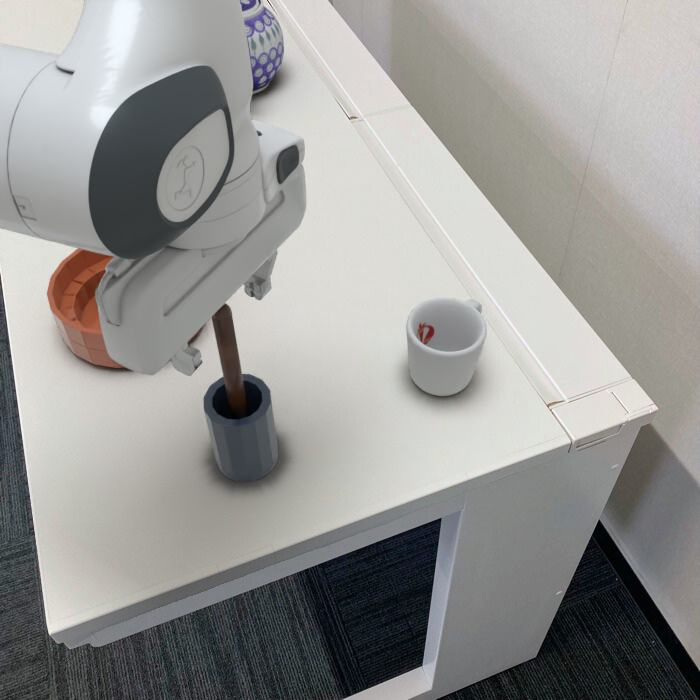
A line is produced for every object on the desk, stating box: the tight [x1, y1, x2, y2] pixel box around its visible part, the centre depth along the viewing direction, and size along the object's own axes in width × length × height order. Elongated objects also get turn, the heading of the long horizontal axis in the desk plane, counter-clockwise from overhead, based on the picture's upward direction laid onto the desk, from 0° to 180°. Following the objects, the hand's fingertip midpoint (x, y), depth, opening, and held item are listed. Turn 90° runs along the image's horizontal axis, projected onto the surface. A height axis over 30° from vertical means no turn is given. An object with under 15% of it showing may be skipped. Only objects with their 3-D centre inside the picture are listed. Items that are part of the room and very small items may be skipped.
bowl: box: [46, 248, 200, 369], centre depth 86 cm, size 16×16×6 cm
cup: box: [405, 297, 488, 397], centre depth 80 cm, size 11×8×8 cm
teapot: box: [240, 0, 285, 95], centre depth 118 cm, size 25×15×15 cm, turn 12°
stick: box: [211, 302, 249, 420], centre depth 67 cm, size 2×2×20 cm
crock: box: [202, 373, 279, 483], centre depth 72 cm, size 6×6×9 cm
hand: (225, 328), depth 62 cm, fingers open, 8 cm apart
